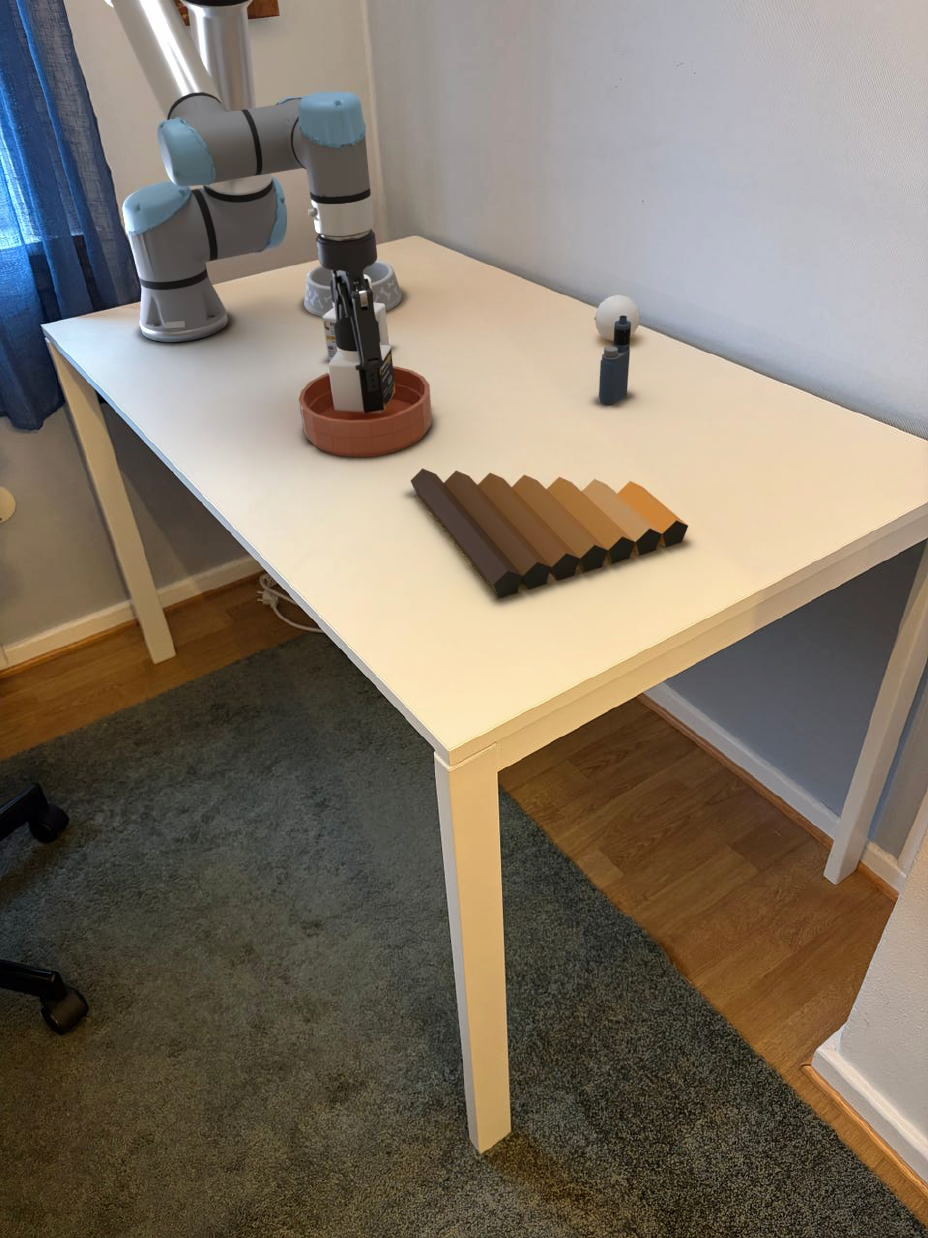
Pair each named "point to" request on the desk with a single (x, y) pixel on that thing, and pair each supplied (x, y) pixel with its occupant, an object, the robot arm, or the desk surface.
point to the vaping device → (615, 364)
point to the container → (330, 321)
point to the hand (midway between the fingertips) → (364, 395)
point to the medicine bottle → (355, 371)
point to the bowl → (367, 418)
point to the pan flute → (545, 525)
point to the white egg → (616, 315)
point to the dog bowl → (379, 273)
